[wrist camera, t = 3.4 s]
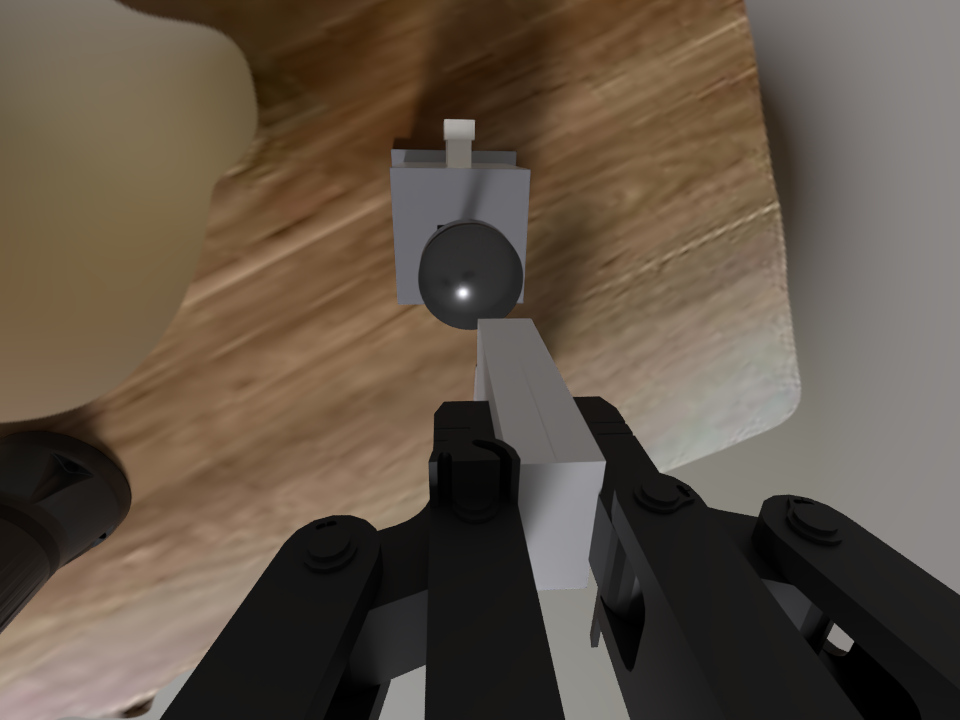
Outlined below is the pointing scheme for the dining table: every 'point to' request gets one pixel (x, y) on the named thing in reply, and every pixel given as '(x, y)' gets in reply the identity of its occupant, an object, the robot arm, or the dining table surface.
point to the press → (453, 198)
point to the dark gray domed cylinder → (469, 273)
